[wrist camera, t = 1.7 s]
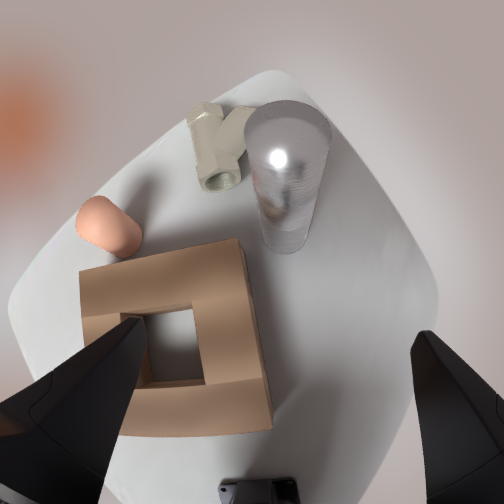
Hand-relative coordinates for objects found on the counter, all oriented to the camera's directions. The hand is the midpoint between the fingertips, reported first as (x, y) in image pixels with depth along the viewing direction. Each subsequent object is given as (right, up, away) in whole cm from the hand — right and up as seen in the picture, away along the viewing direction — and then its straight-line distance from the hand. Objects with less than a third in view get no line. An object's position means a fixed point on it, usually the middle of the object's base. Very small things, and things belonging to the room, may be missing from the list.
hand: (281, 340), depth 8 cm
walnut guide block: (-7, -5, +13) cm, 16 cm away
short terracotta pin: (-12, +4, +16) cm, 21 cm away
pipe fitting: (-3, +12, +18) cm, 22 cm away
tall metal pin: (+2, +4, +15) cm, 16 cm away
